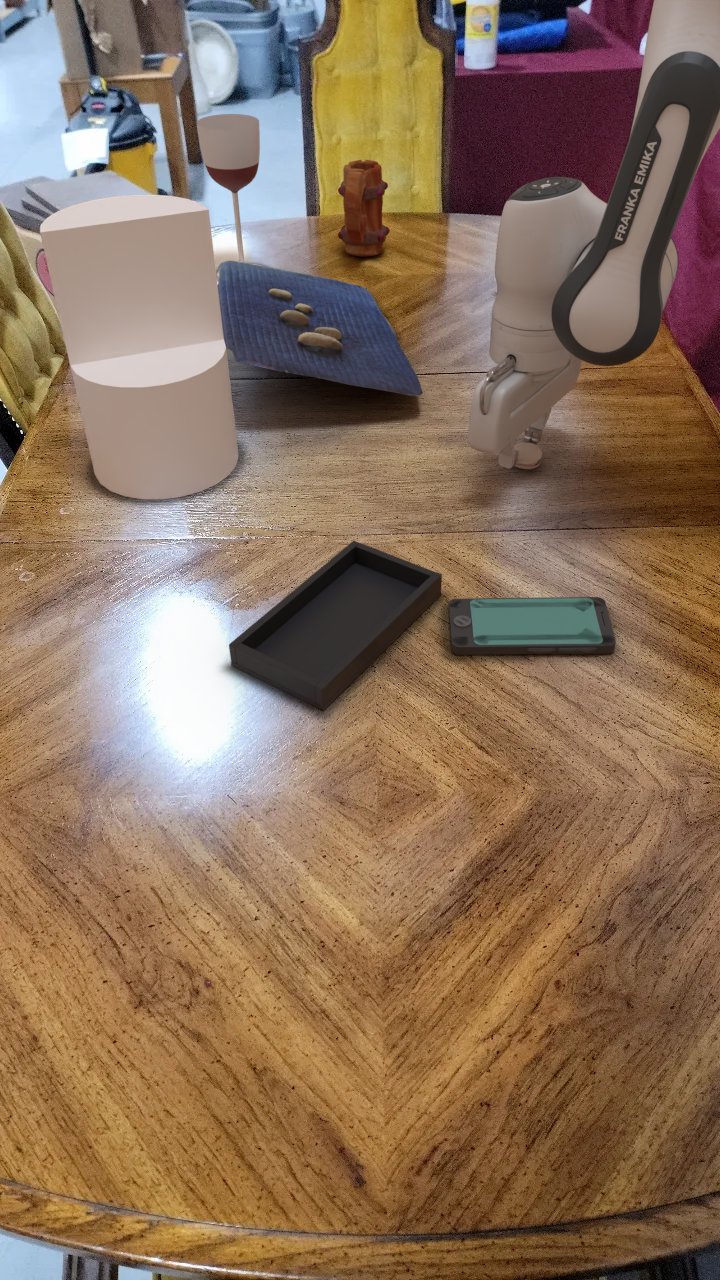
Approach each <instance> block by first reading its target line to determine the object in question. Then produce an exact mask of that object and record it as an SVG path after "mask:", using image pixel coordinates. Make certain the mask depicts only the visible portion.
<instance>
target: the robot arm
mask: <svg viewBox="0 0 720 1280" xmlns="http://www.w3.org/2000/svg"><path fill="white" fill-rule="evenodd" d="M647 29H648V30H647V36H646V40H645V41H646V42H645V48H644V53H643V54H644V55H643V61H642V68H641V74H640V82H639V86H638V91H637V98H636V103H635V111H634V115H633V120H632V125H631V130H630V134H629V137H628V141H627V145H626V148H625V151H624V153H623V157H622V159H621V162H620V166H619V169H618V172H617V174H616V178H615V180H614V183H613V186H612V189H611V192H610V195H609V198H608V201H607V202H605V201H603V200H602V199H600V198H599V197H598V196H597V195H595V194H594V193H593V192H592V191H591V190H590V189H589V188H588V186H586V184H585V183H584V182H583V181H581V180H579V179H577V178H574V177H573V178H572V177H568V176H553V177H544V178H541V179H535V180H534V181H531V182H527V183H526V184H524V185H522V186H520V187H518V188H517V189H516V190H515V191H514V192H513V193H512V194H511V195H510V196H509V198H507V200H506V201H505V204H504V206H503V209H502V213H501V217H500V220H499V226H498V233H497V241H496V248H495V249H496V250H495V262H494V277H495V282H496V295H495V299H494V302H493V305H492V309H491V319H490V320H491V322H490V334H489V335H490V337H489V353H488V354H489V357H490V359H491V361H493V362H494V363H495V364H497V365H495V366H493V367H491V368H490V369H489V370H488V371H487V373H486V376H485V377H484V378H483V379H481V380H480V381H479V382H478V383H477V386H476V388H475V390H474V392H473V396H472V400H471V401H472V402H471V407H470V415H469V421H468V429H467V443H468V445H469V446H470V448H471V449H473V450H475V451H477V452H481V453H484V454H488V455H491V456H497V455H498V457H497V458H498V460H497V463H498V465H499V466H500V467H502V468H504V469H510V470H511V469H512V468H513V467H515V466H514V465H515V464H516V463H517V462H518V454H519V451H518V450H515V448H514V445H515V444H517V440H518V438H519V437H520V436H521V435H522V434H523V433H524V436H523V442H524V443H533V444H536V446H537V445H538V444H540V442H542V441H543V439H544V432H545V428H546V425H547V423H548V420H549V418H550V415H551V413H552V407H554V406H555V405H556V404H558V402H559V401H561V400H562V399H563V398H564V397H566V396H567V395H568V394H569V393H570V392H571V391H572V390H573V389H574V387H575V386H576V384H577V381H578V379H579V376H580V374H581V373H580V372H581V367H582V362H585V363H586V364H587V363H588V364H590V365H594V366H599V367H616V366H620V365H624V364H627V363H629V362H632V361H634V360H636V359H637V358H639V357H640V356H642V355H643V354H644V353H645V352H646V351H647V350H648V349H649V348H650V347H651V346H652V344H653V343H654V341H655V340H656V338H657V336H658V333H659V331H660V327H661V323H662V318H663V314H664V310H665V307H666V304H667V302H668V299H669V297H670V293H671V291H672V288H673V286H674V283H675V279H676V277H677V274H678V271H679V251H678V248H677V245H676V243H675V241H674V239H673V237H672V236H673V235H674V231H675V228H676V226H677V223H678V222H679V218H680V216H681V213H682V210H683V207H684V205H685V202H686V199H687V197H688V194H689V192H690V189H691V187H692V185H693V181H694V180H695V179H694V178H695V176H696V174H697V171H698V169H699V167H700V165H701V163H702V160H703V159H704V157H705V155H706V153H707V151H708V149H709V147H710V145H711V144H712V142H713V140H714V139H715V137H716V135H717V134H718V133H719V131H720V0H653V4H652V9H651V13H650V18H649V24H648V28H647Z"/></svg>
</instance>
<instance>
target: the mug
mask: <svg viewBox="0 0 720 1280" xmlns="http://www.w3.org/2000/svg"><path fill="white" fill-rule="evenodd" d="M342 170H343V171H342V172H343V174H342V175H343V180H342V182H341V183H340V186H339V188H338V189H337V192H338V194H339V195H340V196H342V197H343V199H342V200H343V201H342V203H343V204H342V205H343V211H344V212H343V213H344V215H343V216H344V225H343V226H341V228H340V231H339V232H338V233H337V238H339V240H341V242H342V243H344V250H345V252H346V253H347V254H349V255H351V256H354V257H374V256H377V255H379V254H381V253H382V251H383V244H384V243H385V242H386V239H387V236H388V235H389V234H390V232H391V230H390V228H389V227H388V226H385V225H384V224H383V205H384V204H383V203H384V197H383V196H384V195H385V193H386V190H387V189H388V187H389V184H388V182H386V181H384V180H383V173H382V170H383V168H382V165H381V164H379V162H378V161H375V160H371V159H365V160H364V161H363V160H362V159H358V160H352V161H349V162H348V163H347V164H345V165H344V166H343V169H342Z"/></svg>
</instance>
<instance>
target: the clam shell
mask: <svg viewBox="0 0 720 1280" xmlns="http://www.w3.org/2000/svg"><path fill="white" fill-rule="evenodd" d="M514 448H515V450H518V451H519V454H518V462H517V463H516V464H515V465H514V466H513V467H516V468H519V469H522V470H533V469H535V468H537V467H539V465H540V464H541V463H542V457H543V452H542V449H541V448H540V447H538V446H537V445H536V444H533V443H525V442H519V443H515V444H514Z"/></svg>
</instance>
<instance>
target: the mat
mask: <svg viewBox="0 0 720 1280" xmlns="http://www.w3.org/2000/svg"><path fill="white" fill-rule="evenodd" d="M253 264H254V263H247V262H244V263H243V262H239V261H237V260H236V261H235V260H226V261H223V262H221V263H220V264H219V265H218V271H219V278H218V279H217V285H218V294H219V302H220V311H221V319H222V328H223V336H224V342H225V345H226V349H228V350H230V351H231V352H232V354H233V357H234V359H235V361H236V362H239V363H243V364H246V365H248V366H249V365H250V366H254V367H259V368H263V369H268V370H273V371H276V372H282V373H288V374H293V375H300V376H305V377H312V378H316V379H322V380H326V381H330V382H336V383H339V384H344V385H347V386H348V385H349V386H354V387H359V388H367V389H372V390H378V391H384V392H391V393H396V394H402V395H407V396H418V397H419V396H421V395H423V388H422V386H421V382H420V379H419V377H418V374H417V373H416V371H415V369H414V368H413V367H412V364H411V363H410V360H409V359H408V357H407V355H406V354H405V352H404V350H403V349H402V346H401V345H400V343H399V341H398V338H397V332H396V329H395V328H394V327H393V325H392V324H391V323H390V322H389V320H388V318H386V316H385V315H384V313H383V311H381V309H380V306H379V305H378V302H377V301H376V300H375V297H374V296H373V294H372V293H371V292H370V291H369V290H368V289H367V288H365V287H364V286H361V285H358V284H354V283H350V282H345V281H341V280H337V279H334V278H330V277H324V276H317V275H313V274H308V273H304V272H298V271H292V270H287V269H282V268H277V267H270V266H264V265H261V266H259V265H260V264H258V265H253Z"/></svg>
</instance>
